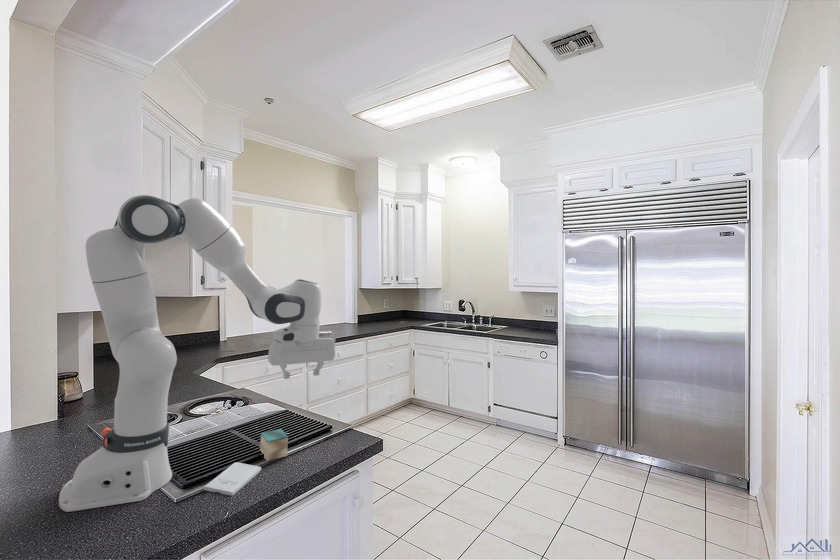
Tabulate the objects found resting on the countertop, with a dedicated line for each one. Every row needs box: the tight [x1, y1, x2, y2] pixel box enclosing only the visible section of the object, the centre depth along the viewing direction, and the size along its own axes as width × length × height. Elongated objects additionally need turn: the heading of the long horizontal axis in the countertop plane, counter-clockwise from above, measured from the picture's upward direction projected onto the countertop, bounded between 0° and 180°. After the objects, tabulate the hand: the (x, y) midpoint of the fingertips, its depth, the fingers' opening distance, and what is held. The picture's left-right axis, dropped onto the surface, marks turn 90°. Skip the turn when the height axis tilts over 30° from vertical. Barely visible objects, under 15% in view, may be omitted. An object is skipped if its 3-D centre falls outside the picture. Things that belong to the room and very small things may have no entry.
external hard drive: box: [203, 461, 262, 497], centre depth 109 cm, size 2×8×12 cm
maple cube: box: [259, 428, 289, 461], centre depth 123 cm, size 6×6×6 cm
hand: (301, 376), depth 128 cm, fingers open, 8 cm apart
